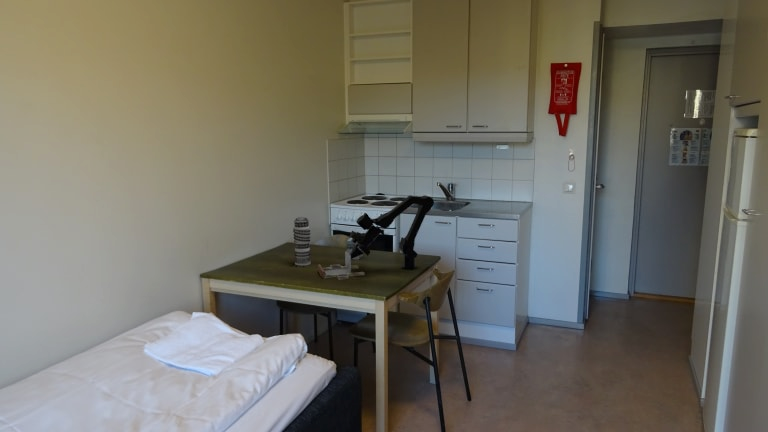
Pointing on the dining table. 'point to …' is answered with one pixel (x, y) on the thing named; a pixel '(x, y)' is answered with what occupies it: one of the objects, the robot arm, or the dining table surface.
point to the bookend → (342, 271)
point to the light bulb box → (350, 248)
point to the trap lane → (336, 267)
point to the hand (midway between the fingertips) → (349, 258)
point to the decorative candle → (302, 241)
